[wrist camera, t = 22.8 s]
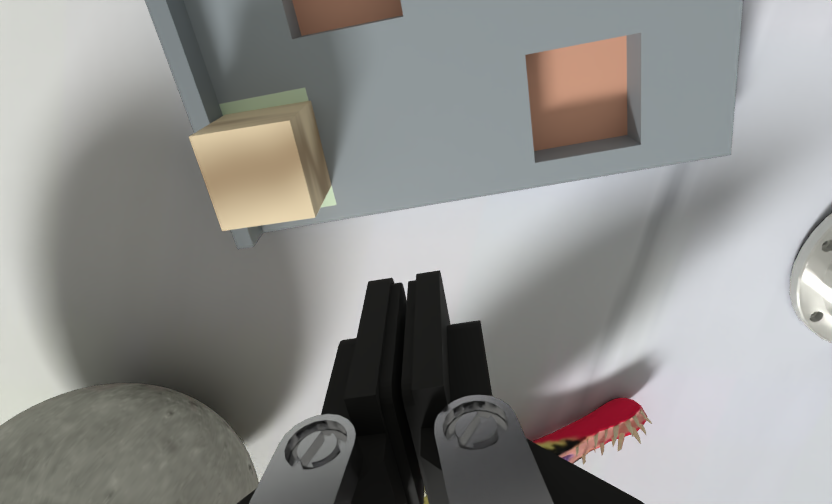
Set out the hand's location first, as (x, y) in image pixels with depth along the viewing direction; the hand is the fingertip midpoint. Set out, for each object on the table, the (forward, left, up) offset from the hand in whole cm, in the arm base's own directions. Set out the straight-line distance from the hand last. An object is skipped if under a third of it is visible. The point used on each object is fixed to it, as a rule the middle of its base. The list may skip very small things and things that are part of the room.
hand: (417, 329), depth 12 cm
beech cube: (0, +8, -20) cm, 21 cm away
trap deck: (+4, -3, -22) cm, 23 cm away
